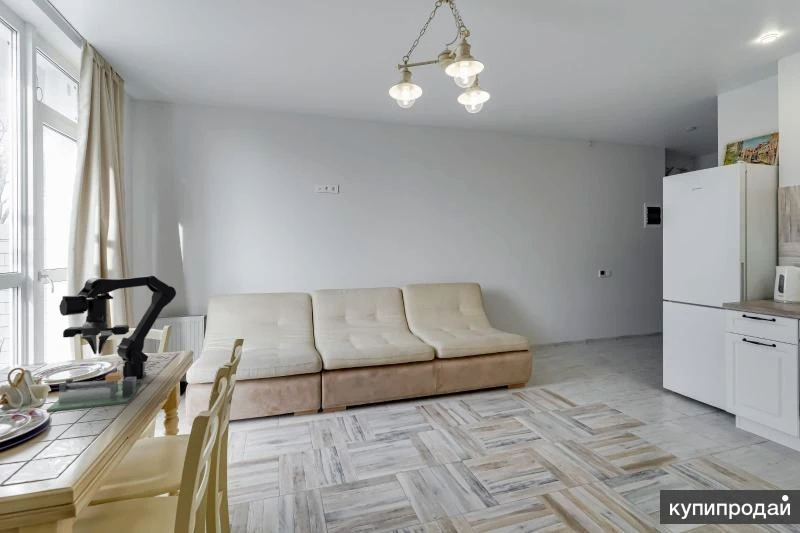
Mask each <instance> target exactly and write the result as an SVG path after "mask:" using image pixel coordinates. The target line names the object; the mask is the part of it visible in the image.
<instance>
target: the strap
mask: <svg viewBox="0 0 800 533" xmlns="http://www.w3.org/2000/svg"><path fill="white" fill-rule="evenodd" d="M116 383H117V381H108V382H106V380H96V381H93V380H92V381H81V382H80V381H79V382H73V383H67V388H76V387H89V386H103V385H115V384H116Z"/></svg>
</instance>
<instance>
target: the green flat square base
mask: <svg viewBox="0 0 800 533" xmlns="http://www.w3.org/2000/svg"><path fill="white" fill-rule="evenodd" d="M67 383H74V378H67V379H65V382H64V383H60V384H58V386H59V387H58V390H59V391H58V399H57V401H55V402H54V403H53V404H51V405H50V406H49V407H47V409H46V412H48V413H49V412H58V411H68V410H76V409H79V410H80V409H85V408H86V409H87V408H96V407H105V406H106V407H107V406H114V405H124V404H127V403H129V402H130V400H131V398H132V397H133V396H134V395H135V393H136V392H137V391H138V389H139V388H140V387H141V386H142V382H139V381H138V382H137V378H136V376H134V377H126V378H125V379H122V382H121V383H119V381H117V383H116V384H115V385H103V386H89V387H76V388H67Z"/></svg>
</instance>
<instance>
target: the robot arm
mask: <svg viewBox="0 0 800 533" xmlns="http://www.w3.org/2000/svg"><path fill="white" fill-rule="evenodd" d="M144 286H145V287H147V288H148V289H149V290H150V291H151V293H152V295H151V303H150V305H149V306H148V308H147V310H146V311H145V313H144V315H143V316H142V318H141V319H140V321H139V322H138V324H137V325H136V327H135V329H134V331H133V333H132V334H131V335H130V336H128V337H123V338H122V339H121V341H120V343H119V344H118V345H117V346H116V347H117V349H116V352H117V355H118V357H120V358H121V359H122V362H123V361H126V362H125V365H123V366H122V372H123V377H122V380H124V379H125V378H126V377H134V376H136V379H142V378H143V377H144V376H146V375H147V374H146V373H147V372H146V369H145V367H146V363H147V361H148V358H149V356H148V355H147V354H145V353H144V352H143V350H144V347H145V339H146V337H147V336H148V334H149V332H150V330H151V329H152V327H153V326H154V324H155V322H156V320H157V319H158V317H159V316H160V314H161V312H162V311H163V309H164V307H167V306H168V305H169V304H170V303H171V302H172V301H173V300H174V299H175V297H176V296H177V292H176V289H175V288H174V287H173V286H171V285H168V284H167V283H165V282H164V281H162V280H160V279H159V278H157V277H156V276H154V275H151V274H150V275H149V274H145V275H143V276H133V277H121V278H102V277H101V278H100V277H91V278H88V279H87V280H86V281H85V283H84V286H83V288H82V289H81V290H80V291H79V292H78V294H77V295H62V300H61V301H60V304H59V306H58V307H59V311H60V312H59V313H60V315H61V316H72V315H81V314H84V313H85V312H86V317H85V322H84V323H83V324H82V326H70V327H67V328H65V329H64V330H63V332H62V337H63V338H74V337H75V336H76V335H81V337H80V338H81V339H82V340H85V341H86V342H87V343H88V344H89V346H90V348H91V350H92V352H93V354H94V355H97V354H98V355H101V354H102V351H103V349H104V347H105V344H106V343H107V341H108V339H109V338H110V337H112V336H113V335H114V336H119V335H126V334H127V333H129V332H130V327H129V324H119V325H118V324H116V325H115V326H112V327H108V325H109V324H108V319H107V318H108V316H109V315H108V311H107V310H108V308H107V306H108V305H107V304H108V302H107V301H108V300H113V299H114V296H112V295H110V294H109V293H112V292H113V291H116V290H120V289H127V288H128V289H129V288H137V287H144ZM98 335H99V336H98ZM97 336H98V340H99V341H98V342H97ZM97 343H98V344H97ZM97 345H98V346H97ZM145 362H146V363H145Z"/></svg>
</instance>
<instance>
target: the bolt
mask: <svg viewBox="0 0 800 533" xmlns="http://www.w3.org/2000/svg"><path fill="white" fill-rule="evenodd" d="M123 378H124V377H123V371H120V372H119V371H118V372H109V373H108V374H106V375H105V378H104V379H105V380H106V382H108V381H118V382H119V381H121V380H122V379H123ZM105 380H104V381H105Z"/></svg>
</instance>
